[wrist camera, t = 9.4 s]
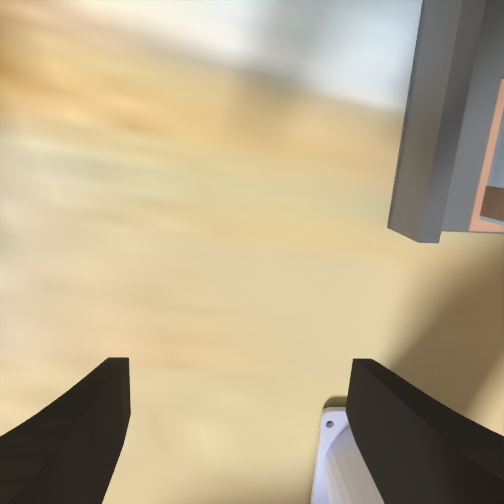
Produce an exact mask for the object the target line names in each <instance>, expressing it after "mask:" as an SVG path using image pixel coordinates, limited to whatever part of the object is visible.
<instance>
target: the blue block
mask: <svg viewBox="0 0 504 504" xmlns="http://www.w3.org/2000/svg"><path fill="white" fill-rule="evenodd" d="M479 219H480V220H484V221H488V222H491V223H495V224H499V225H502V226H504V108H503V113H502V117H501V122H500V127H499V131H498V136H497V140H496V145H495V150H494V154H493V159H492V163H491V168H490V173H489V177H488V182H487V186H486V188H485V193H484V197H483V202H482V207H481V211H480V218H479Z"/></svg>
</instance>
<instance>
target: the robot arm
mask: <svg viewBox="0 0 504 504" xmlns="http://www.w3.org/2000/svg"><path fill="white" fill-rule="evenodd" d="M130 415H131V408H130V377H129V358H107V359H106V360H105V361H104V362H102V363H101V364H100V365H99V366H98V367H96V368H95V369H94V370H93V371H92V372H90V373H89V374H88V375H87V376H86V377H84V378H83V379H82V380H81V381H79V382H78V383H77V384H76V385H74V386H73V387H72V388H71V389H70V390H68V391H67V392H66V393H64V394H63V395H62V396H60V397H59V398H58V399H56V400H55V401H53V402H52V403H51V404H49V405H48V406H47V407H45V408H44V409H43V410H41V411H40V412H38V413H37V414H36V415H34V416H33V417H31V418H30V419H28V420H26V421H25V422H23V423H22V424H20V425H19V426H17V427H15V428H14V429H12V430H10V431H9V432H7V433H5V434H4V435H2V436H0V504H102V502H103V499H104V496H105V494H106V491H107V488H108V486H109V483H110V480H111V478H112V475H113V472H114V469H115V467H116V464H117V461H118V458H119V456H120V453H121V450H122V447H123V444H124V440H125V436H126V432H127V428H128V423H129V419H130ZM328 421H332V422H330V423H328V424H327V422H328ZM310 504H504V436H502V435H500V434H498V433H496V432H493V431H491V430H489V429H487V428H485V427H483V426H481V425H479V424H477V423H476V422H474V421H472V420H470V419H468V418H466V417H464V416H462V415H460V414H459V413H457V412H455V411H453V410H452V409H450V408H448V407H447V406H445V405H443V404H441V403H440V402H438V401H436V400H435V399H433V398H432V397H430V396H428V395H427V394H425V393H424V392H422V391H421V390H419V389H417V388H416V387H414V386H413V385H411V384H410V383H408V382H407V381H405V380H404V379H402V378H401V377H399V376H398V375H396V374H395V373H393V372H392V371H390V370H389V369H387V368H386V367H384V366H383V365H381V364H380V363H378V362H376V361H374V360H373V359H353V363H352V370H351V377H350V384H349V390H348V397H347V404H346V407H328V408H325V409H324V410H323V411H322V414H321V422H320V430H319V438H318V446H317V453H316V461H315V469H314V477H313V485H312V493H311V501H310Z"/></svg>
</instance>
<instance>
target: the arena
mask: <svg viewBox="0 0 504 504" xmlns="http://www.w3.org/2000/svg"><path fill="white" fill-rule="evenodd" d="M503 108H504V0H423V3H422V10H421V16H420V22H419V29H418V35H417V42H416V48H415V54H414V61H413V67H412V73H411V80H410V86H409V92H408V99H407V105H406V112H405V118H404V124H403V131H402V137H401V143H400V150H399V156H398V163H397V169H396V175H395V182H394V188H393V194H392V201H391V207H390V213H389V220H388V226H387V228H389V229H391V230H393V231H395V232H398V233H400V234H402V235H404V236H406V237H408V238H410V239H412V240H414V241H416V242H418V243H439V239H440V234H441V231H449V232H474V233H498V234H504V226H502V225H499V224H495V223H491V222H488V221H484V220H480V219H479V218H480V211H481V207H482V202H483V197H484V193H485V188H486V186H487V182H488V177H489V173H490V168H491V163H492V159H493V154H494V150H495V145H496V140H497V136H498V131H499V127H500V122H501V117H502V113H503Z"/></svg>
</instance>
